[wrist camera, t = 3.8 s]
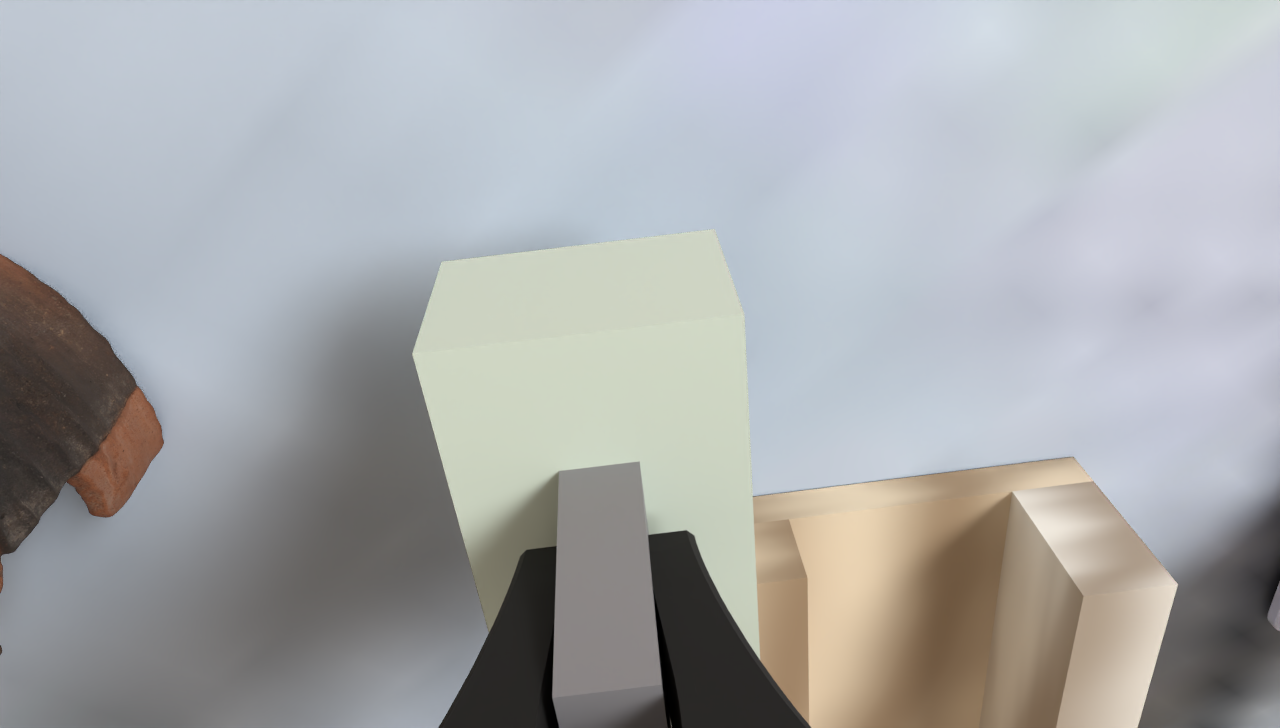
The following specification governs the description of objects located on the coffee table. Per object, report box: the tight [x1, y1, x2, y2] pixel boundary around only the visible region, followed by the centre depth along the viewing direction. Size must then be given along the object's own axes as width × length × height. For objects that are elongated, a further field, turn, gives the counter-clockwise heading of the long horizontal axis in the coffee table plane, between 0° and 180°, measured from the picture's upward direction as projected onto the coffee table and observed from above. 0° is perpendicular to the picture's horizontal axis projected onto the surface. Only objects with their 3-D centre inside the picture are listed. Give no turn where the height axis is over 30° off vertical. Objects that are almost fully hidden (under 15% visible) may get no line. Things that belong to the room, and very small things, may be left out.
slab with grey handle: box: [412, 229, 760, 728], centre depth 13 cm, size 4×8×7 cm, turn 6°
